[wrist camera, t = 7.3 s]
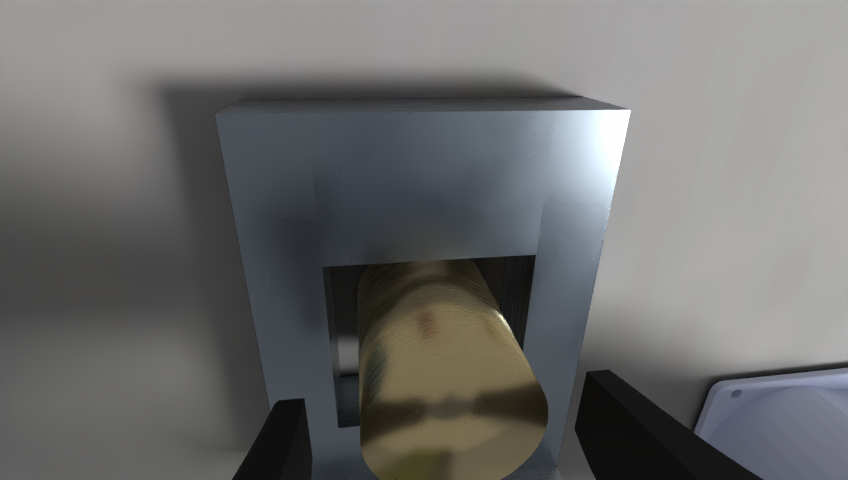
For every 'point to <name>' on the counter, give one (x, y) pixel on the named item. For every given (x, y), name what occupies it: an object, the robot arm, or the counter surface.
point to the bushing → (442, 376)
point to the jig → (417, 231)
